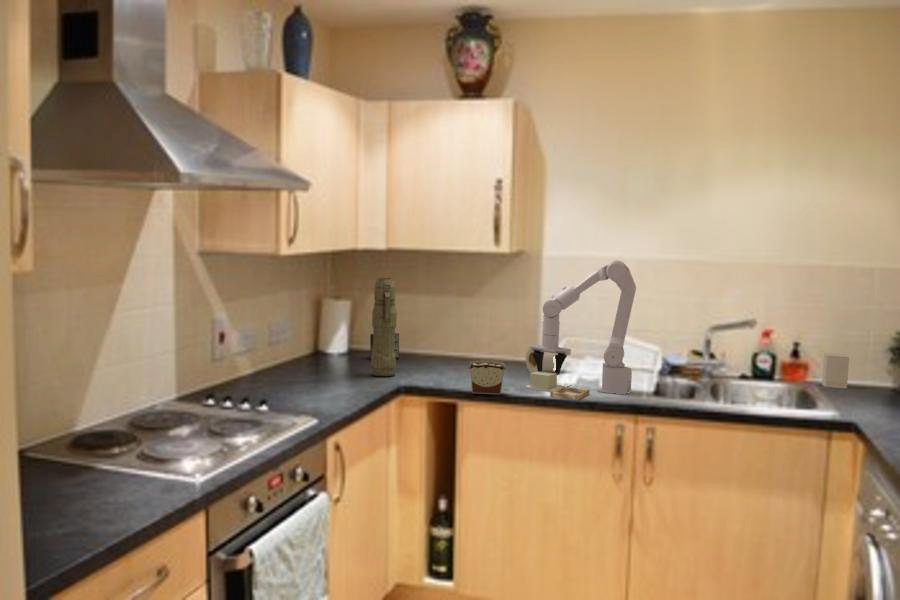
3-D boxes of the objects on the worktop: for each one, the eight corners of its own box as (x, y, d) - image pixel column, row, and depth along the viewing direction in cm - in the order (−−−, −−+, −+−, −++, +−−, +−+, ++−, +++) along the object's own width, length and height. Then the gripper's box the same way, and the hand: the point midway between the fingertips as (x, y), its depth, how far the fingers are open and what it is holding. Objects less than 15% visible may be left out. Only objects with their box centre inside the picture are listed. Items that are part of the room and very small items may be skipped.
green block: (556, 373, 267) (538, 371, 271) (548, 375, 262) (530, 373, 266) (556, 386, 267) (538, 384, 271) (548, 389, 262) (529, 386, 266)
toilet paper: (547, 369, 305) (548, 344, 304) (561, 374, 296) (562, 348, 295) (525, 371, 300) (526, 345, 300) (538, 375, 291) (539, 349, 291)
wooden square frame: (589, 394, 260) (589, 390, 260) (578, 400, 250) (578, 395, 250) (562, 390, 264) (562, 386, 264) (550, 396, 255) (550, 392, 255)
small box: (390, 356, 325) (390, 331, 324) (399, 358, 320) (400, 333, 319) (369, 358, 319) (369, 333, 318) (378, 361, 314) (378, 335, 313)
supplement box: (847, 392, 276) (849, 357, 274) (823, 390, 278) (826, 355, 277) (843, 388, 282) (846, 354, 281) (821, 386, 285) (823, 352, 284)
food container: (505, 390, 262) (506, 361, 261) (505, 394, 256) (506, 364, 255) (468, 389, 263) (469, 359, 262) (467, 392, 257) (468, 362, 256)
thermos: (376, 377, 279) (378, 279, 276) (367, 371, 290) (368, 277, 287) (400, 376, 282) (402, 279, 279) (389, 370, 293) (391, 277, 290)
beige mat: (571, 385, 274) (571, 383, 274) (555, 392, 261) (555, 390, 261) (542, 381, 280) (542, 379, 280) (525, 388, 267) (525, 386, 266)
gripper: (574, 335, 269) (572, 374, 270) (535, 331, 276) (533, 369, 277) (567, 337, 263) (565, 377, 264) (527, 333, 270) (525, 372, 271)
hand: (548, 373), depth 270 cm, fingers open, 6 cm apart
